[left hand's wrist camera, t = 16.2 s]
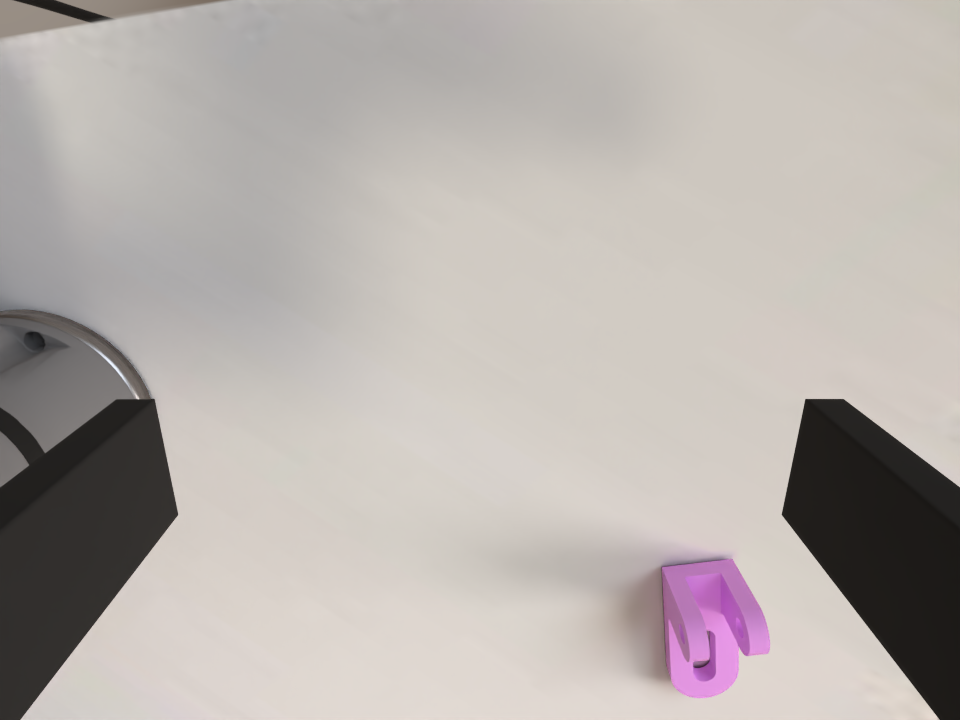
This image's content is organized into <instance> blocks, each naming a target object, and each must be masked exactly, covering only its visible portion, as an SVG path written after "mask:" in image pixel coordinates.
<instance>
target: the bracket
mask: <svg viewBox="0 0 960 720" xmlns="http://www.w3.org/2000/svg"><path fill="white" fill-rule="evenodd" d="M662 582H663V603H664V623H665V644H666V664H667V669H668V672H669V674H670V677H671V680H672V683H673V685H674V687H675V688H676V689H677V690H678V691H679V692H681V693H682V694H684V695H686V696H689V697H694V698H707V697H712V696H715V695H718V694H720V693H722V692H724V691H725V690H727V689H728V688H729V687H730V686H731V685H732V684H733V683H734V682H735V680H736V678H737V676H738V664H739V647H740V649H741V651H742V653H743V654H744V655H745V656H751V655H760V654H768V653H769V650H770V638H769V632H768V627H767V624H766V620H765V617H764V615H763V612H762V610H761V608H760V606H759V604H758V603H757V601H756V599H755V597H754V596H753V594H752V592H751V591H750V589H749V587H748V585H747V584H746V582H745V580H744V578H743V577H742V575H741V573H740V572H739V570H738V568H737V566H736V565H735V563H734V561H733V559H728V560H719V561H711V562H702V563H693V564H685V565H676V566H667V567H662ZM707 630H708V631H710V647H709V640H708V635H707ZM709 657H710V661H709V663H708V664H707V665H706V666H704V667H702V668H694V667H693V662H695V661H704V660H709Z"/></svg>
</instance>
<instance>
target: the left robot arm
mask: <svg viewBox="0 0 960 720" xmlns="http://www.w3.org/2000/svg"><path fill="white" fill-rule="evenodd" d="M14 1H17V2H21V3H25V4H28V5H32V6H36V7H39V8H43V9H46V10H49V11H53V12H56V13H59V14H63V15H66V16H69V17H73V18H76V19H79V20H83V21H86V22H89V23H95V22H101V21H106V20H112V19H113V18H110V17H106V16H103V15H100V14H97V13H93V12H90V11H87V10H84V9H81V8H78V7H75V6H72V5H68V4H66V3H63V2H60V1H57V0H14ZM177 516H178V511H177V507H176V502H175V497H174V492H173V487H172V482H171V477H170V472H169V468H168V463H167V458H166V453H165V448H164V443H163V438H162V433H161V429H160V424H159V419H158V414H157V409H156V404H155V399H151V398H150V395H149V393H148V391H147V388H146V386H145V385H144V383H143V381H142V379H141V377H140V376H139V374H138V373H137V371H136V370H135V369H134V367H133V366H132V365H131V364H130V362H129V361H128V360H127V359H126V358H125V357H124V356H123V355H122V353H121V352H119V351H118V350H117V349H116V348H115V347H114V346H113V345H112V344H111V343H109V342H108V341H107V340H105V339H104V338H103V337H101V336H100V335H98V334H97V333H95V332H94V331H92V330H90V329H88V328H87V327H85V326H83V325H81V324H79V323H77V322H74V321H72V320H70V319H67V318H64V317H61V316H58V315H54V314H51V313H46V312H41V311H33V310H9V311H2V312H0V720H20V719H21V718H22V717H23V715H24V714H25V713H26V712H27V710H28V709H29V708H30V706H31V705H32V704H33V702H34V701H35V700H36V699H37V697H38V696H39V695H40V693H41V692H42V691H43V690H44V688H45V687H46V686H47V684H48V683H49V682H50V680H51V679H52V678H53V677H54V675H55V674H56V673H57V671H58V670H59V669H60V667H61V666H62V665H63V664H64V662H65V661H66V660H67V658H68V657H69V656H70V654H71V653H72V652H73V651H74V649H75V648H76V647H77V645H78V644H79V643H80V642H81V640H82V639H83V638H84V636H85V635H86V634H87V632H88V631H89V630H90V629H91V627H92V626H93V625H94V623H95V622H96V621H97V619H98V618H99V617H100V616H101V614H102V613H103V612H104V610H105V609H106V608H107V606H108V605H109V604H110V603H111V601H112V600H113V599H114V597H115V596H116V595H117V593H118V592H119V591H120V590H121V588H122V587H123V586H124V584H125V583H126V582H127V581H128V579H129V578H130V577H131V575H132V574H133V573H134V571H135V570H136V569H137V568H138V566H139V565H140V564H141V562H142V561H143V560H144V558H145V557H146V556H147V555H148V553H149V552H150V551H151V549H152V548H153V547H154V545H155V544H156V543H157V542H158V540H159V539H160V538H161V536H162V535H163V534H164V533H165V531H166V530H167V529H168V527H169V526H170V525H171V523H172V522H173V521H174V520H175V518H176V517H177ZM782 516H783V517H784V518H785V520H786V521H787V522H788V523H789V525H790V526H791V527H792V529H793V530H794V531H795V533H796V534H797V535H798V536H799V538H800V539H801V540H802V542H803V543H804V544H805V545H806V547H807V548H808V549H809V551H810V552H811V553H812V555H813V556H814V557H815V558H816V560H817V561H818V562H819V564H820V565H821V566H822V568H823V569H824V570H825V571H826V573H827V574H828V575H829V577H830V578H831V579H832V581H833V582H834V583H835V584H836V586H837V587H838V588H839V590H840V591H841V592H842V594H843V595H844V596H845V597H846V599H847V600H848V601H849V603H850V604H851V605H852V606H853V608H854V609H855V610H856V612H857V613H858V614H859V616H860V617H861V618H862V619H863V621H864V622H865V623H866V625H867V626H868V627H869V629H870V630H871V631H872V632H873V634H874V635H875V636H876V638H877V639H878V640H879V642H880V643H881V644H882V645H883V647H884V648H885V649H886V651H887V652H888V653H889V654H890V656H891V657H892V658H893V660H894V661H895V662H896V664H897V665H898V666H899V667H900V669H901V670H902V671H903V673H904V674H905V675H906V677H907V678H908V679H909V680H910V682H911V683H912V684H913V686H914V687H915V688H916V690H917V691H918V692H919V693H920V695H921V696H922V697H923V699H924V700H925V701H926V702H927V704H928V705H929V706H930V708H931V709H932V710H933V712H934V713H935V714H936V715H937V717H938V718H939V719H940V720H960V487H959V486H957V485H956V484H955V483H953V482H952V481H951V480H949V479H948V478H947V477H945V476H944V475H943V474H941V473H940V472H939V471H938V470H936V469H935V468H934V467H932V466H931V465H930V464H928V463H927V462H926V461H924V460H923V459H922V458H920V457H919V456H918V455H916V454H915V453H914V452H912V451H911V450H910V449H909V448H907V447H906V446H905V445H903V444H902V443H901V442H899V441H898V440H897V439H895V438H894V437H893V436H891V435H890V434H889V433H887V432H886V431H885V430H884V429H882V428H881V427H880V426H878V425H877V424H876V423H874V422H873V421H872V420H870V419H869V418H868V417H866V416H865V415H864V414H862V413H861V412H860V411H858V410H857V409H856V408H855V407H853V406H852V405H851V404H849V403H848V402H847V401H845V400H844V399H805V404H804V409H803V414H802V419H801V424H800V429H799V433H798V438H797V443H796V448H795V453H794V458H793V463H792V468H791V472H790V477H789V482H788V487H787V492H786V497H785V502H784V507H783V511H782Z"/></svg>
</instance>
